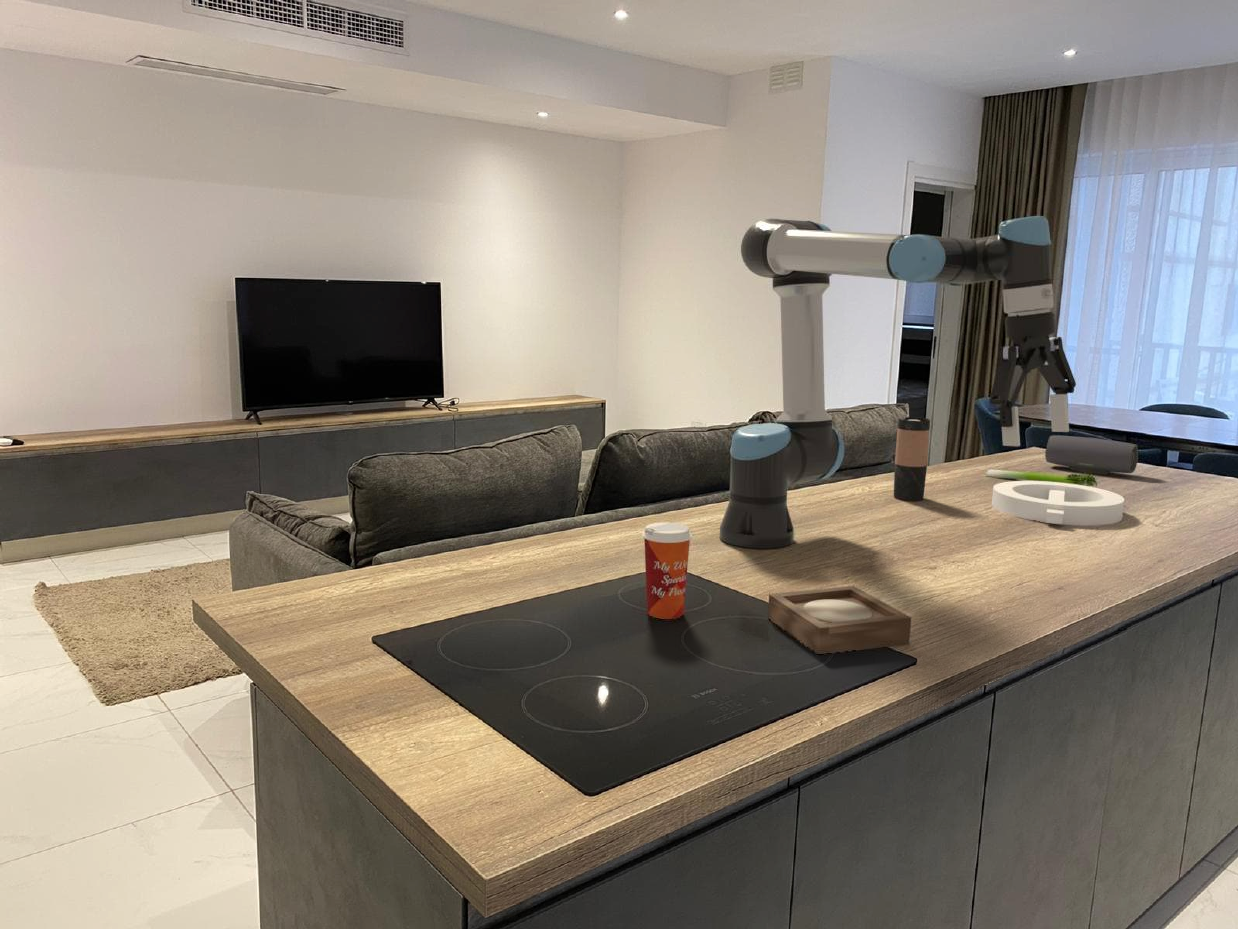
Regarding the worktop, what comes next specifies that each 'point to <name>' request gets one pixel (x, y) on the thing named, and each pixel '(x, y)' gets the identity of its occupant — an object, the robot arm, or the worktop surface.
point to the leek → (1044, 477)
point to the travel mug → (911, 458)
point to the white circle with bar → (1058, 502)
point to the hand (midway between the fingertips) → (1036, 438)
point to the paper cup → (666, 568)
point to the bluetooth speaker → (1092, 454)
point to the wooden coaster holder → (839, 619)
